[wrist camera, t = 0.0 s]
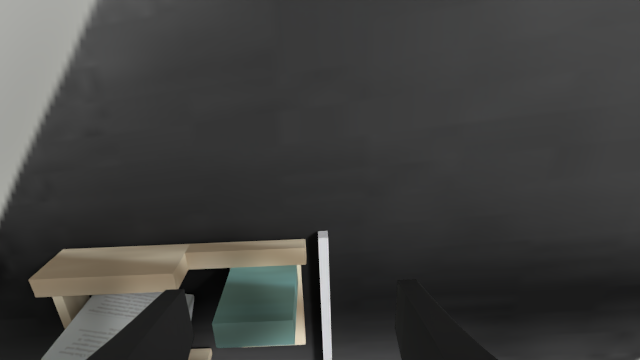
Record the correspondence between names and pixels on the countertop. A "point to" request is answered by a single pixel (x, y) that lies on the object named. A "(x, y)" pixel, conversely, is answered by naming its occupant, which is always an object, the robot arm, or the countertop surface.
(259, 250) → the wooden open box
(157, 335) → the robot arm
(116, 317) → the skincare box
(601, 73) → the countertop surface
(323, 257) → the rail
